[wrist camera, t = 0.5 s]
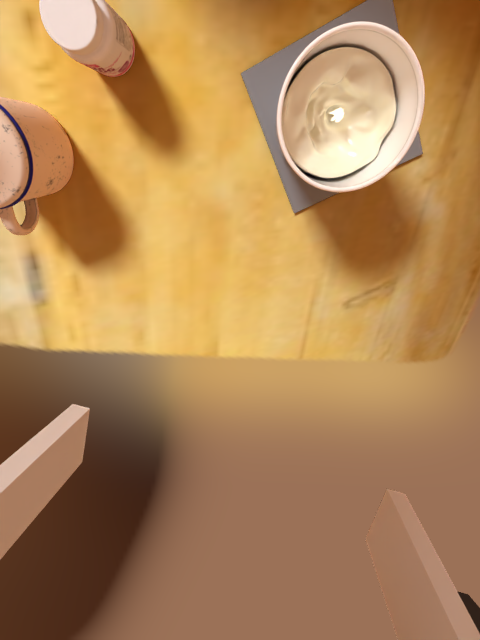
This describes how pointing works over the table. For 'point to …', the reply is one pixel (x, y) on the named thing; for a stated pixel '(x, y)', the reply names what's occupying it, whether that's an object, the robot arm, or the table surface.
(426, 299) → the table surface
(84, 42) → the pill bottle
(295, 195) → the gray tile
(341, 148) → the candle holder
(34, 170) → the teacup with lid
